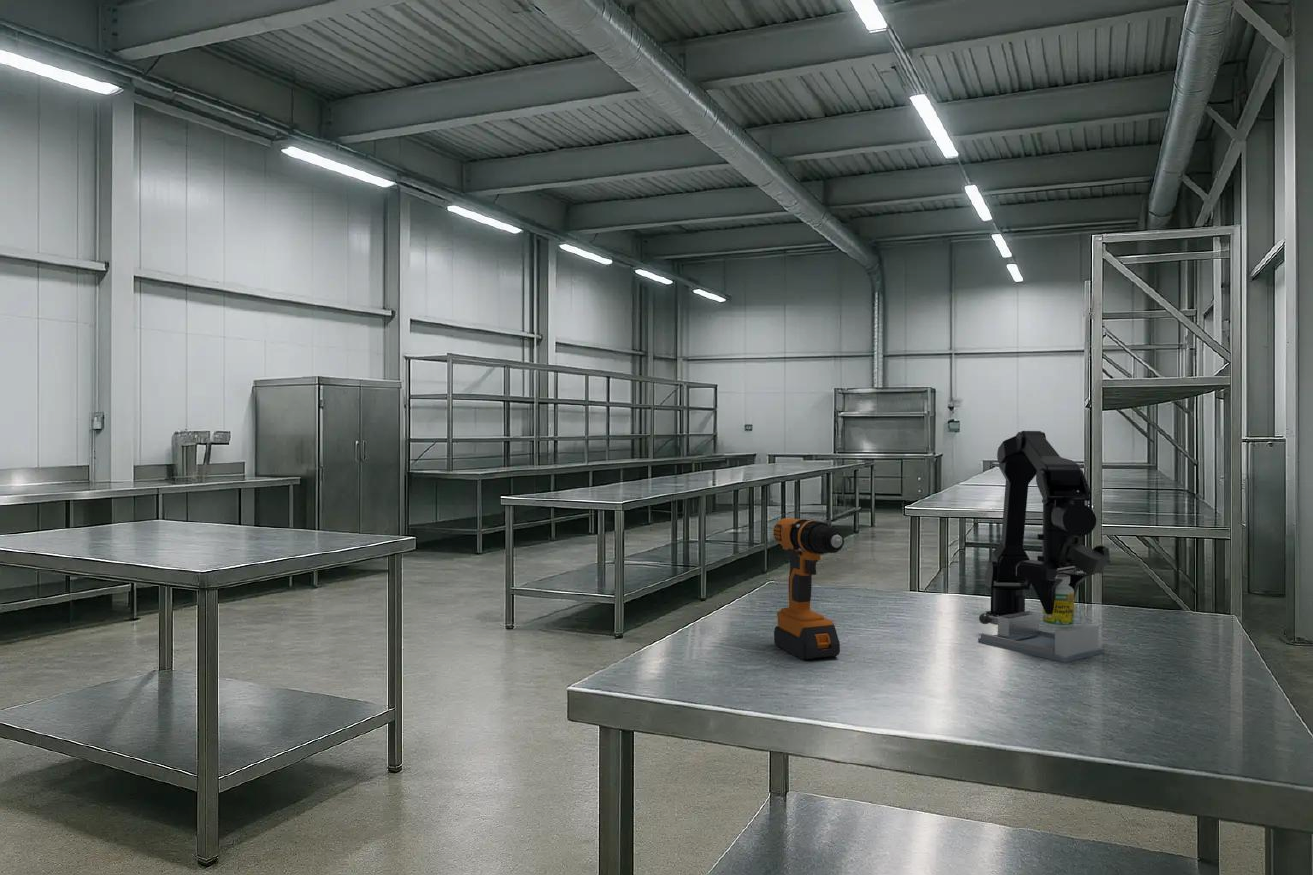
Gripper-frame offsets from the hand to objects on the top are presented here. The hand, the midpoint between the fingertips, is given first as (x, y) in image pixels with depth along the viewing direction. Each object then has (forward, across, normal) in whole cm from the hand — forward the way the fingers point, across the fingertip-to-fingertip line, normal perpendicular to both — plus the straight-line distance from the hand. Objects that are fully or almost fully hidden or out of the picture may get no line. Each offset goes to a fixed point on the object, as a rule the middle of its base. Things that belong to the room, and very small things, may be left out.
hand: (1057, 612), depth 166 cm
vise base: (+7, 0, +4) cm, 8 cm away
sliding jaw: (+6, 0, +12) cm, 13 cm away
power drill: (+8, -41, +23) cm, 48 cm away
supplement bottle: (+3, 0, 0) cm, 3 cm away
